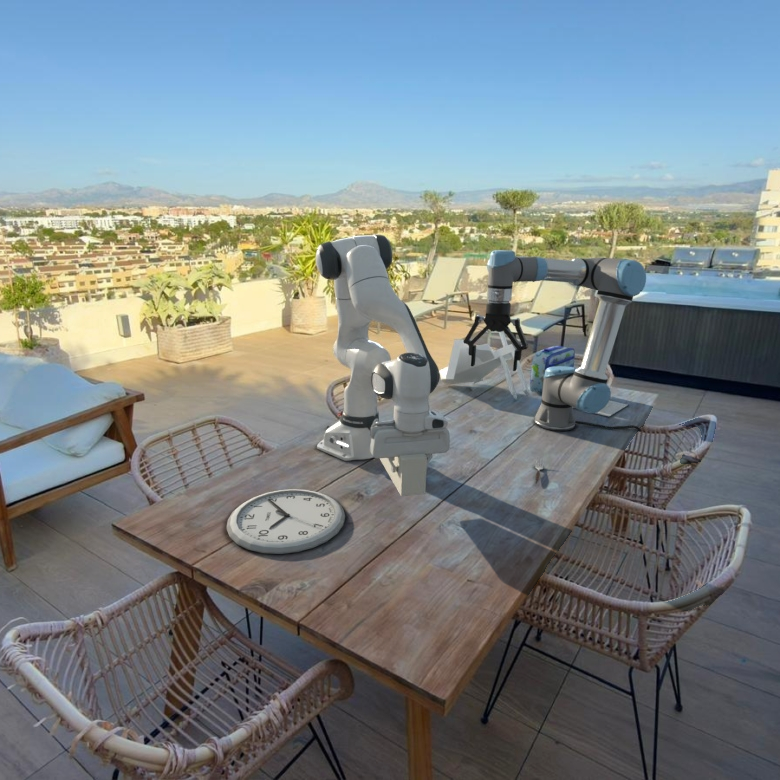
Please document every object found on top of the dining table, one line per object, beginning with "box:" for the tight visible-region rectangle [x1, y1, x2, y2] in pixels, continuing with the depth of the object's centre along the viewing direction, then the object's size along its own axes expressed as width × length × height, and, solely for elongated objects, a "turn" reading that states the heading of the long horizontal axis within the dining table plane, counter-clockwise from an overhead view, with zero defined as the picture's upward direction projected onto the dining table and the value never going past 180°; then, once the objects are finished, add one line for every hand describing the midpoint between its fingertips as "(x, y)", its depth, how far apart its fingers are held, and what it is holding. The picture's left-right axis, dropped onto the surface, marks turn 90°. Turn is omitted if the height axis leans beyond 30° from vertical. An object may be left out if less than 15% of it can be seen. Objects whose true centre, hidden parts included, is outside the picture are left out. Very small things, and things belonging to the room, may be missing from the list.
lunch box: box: [529, 345, 576, 394], centre depth 244 cm, size 26×11×21 cm, turn 135°
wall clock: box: [226, 488, 346, 555], centre depth 135 cm, size 30×2×30 cm
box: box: [379, 453, 428, 497], centre depth 141 cm, size 25×6×10 cm, turn 15°
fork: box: [534, 457, 545, 484], centre depth 163 cm, size 3×16×2 cm, turn 160°
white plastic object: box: [439, 331, 531, 400], centre depth 245 cm, size 37×45×31 cm
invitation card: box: [575, 399, 629, 418], centre depth 226 cm, size 21×1×15 cm
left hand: (409, 470), depth 134 cm, fingers closed on box, 6 cm apart
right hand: (493, 367), depth 169 cm, fingers open, 13 cm apart
